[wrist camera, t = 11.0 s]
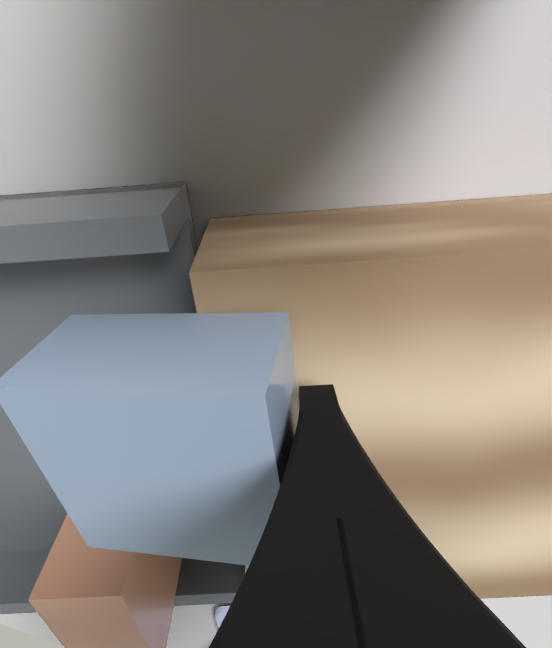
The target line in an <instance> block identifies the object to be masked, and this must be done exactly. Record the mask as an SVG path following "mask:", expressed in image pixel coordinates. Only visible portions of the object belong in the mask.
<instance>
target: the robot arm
mask: <svg viewBox="0 0 552 648" xmlns="http://www.w3.org/2000/svg"><path fill="white" fill-rule="evenodd" d="M299 402H300V408H299V416H298V422H297V427H296V432H295V436H294V440H293V444H292V448H291V452H290V455H289V459H288V463H287V466H286V470H285V473H284V476H283V479H282V482H281V485H280V488H279V491H278V494H277V496H276V499H275V502H274V505H273V508H272V511H271V513H270V516H269V519H268V521H267V524H266V526H265V529H264V531H263V534H262V536H261V539H260V541H259V544H258V546H257V548H256V551H255V553H254V555H253V558H252V560H251V562H250V565H249V567H248V569H247V571H246V573H245V575H244V577H243V580H242V582H241V584H240V586H239V588H238V590H237V592H236V595H235V597H234V599H233V601H232V603H231V605H230V606H220V607H218V608H217V609H216V611H215V620H216V623H217V626H218V631H217V633H216V635H215V637H214V639H213V641H212V643H211V645H210V646H209V648H526V647H525V646H524V645H523V644H522V643H521V642H520V641H519V640H518V639H517V638H516V637H515V635H514V634H513V633H512V632H511V631H510V630H509V629H508V628H507V627H506V626H505V625H504V624H503V623H502V622H501V621H500V620H499V619H498V617H497V616H496V615H495V614H494V613H493V612H492V611H491V610H490V609H489V608H488V607H487V606H486V605H485V604H484V603H483V602H482V601H481V600H480V598H479V597H478V596H477V595H476V594H475V593H474V592H473V591H472V590H471V589H470V587H469V586H468V585H467V584H466V583H465V582H464V581H463V579H462V578H461V577H460V576H459V575H458V574H457V573H456V571H455V570H454V569H453V568H452V567H451V566H450V564H449V563H448V562H447V561H446V560H445V559H444V558H443V556H442V555H441V554H440V553H439V551H438V550H437V549H436V548H435V547H434V545H433V544H432V543H431V542H430V540H429V539H428V538H427V537H426V536H425V534H424V533H423V532H422V531H421V529H420V528H419V527H418V526H417V524H416V523H415V522H414V520H413V519H412V518H411V516H410V515H409V514H408V513H407V511H406V510H405V509H404V507H403V506H402V505H401V503H400V502H399V500H398V499H397V498H396V496H395V495H394V493H393V492H392V491H391V489H390V488H389V487H388V485H387V484H386V482H385V481H384V479H383V478H382V476H381V475H380V474H379V472H378V471H377V469H376V468H375V466H374V464H373V463H372V461H371V460H370V458H369V457H368V455H367V453H366V452H365V450H364V449H363V447H362V446H361V444H360V442H359V441H358V439H357V437H356V436H355V434H354V432H353V431H352V429H351V427H350V425H349V423H348V422H347V420H346V418H345V416H344V414H343V412H342V410H341V408H340V406H339V403H338V399H337V396H336V393H335V389H334V386H333V384H328V385H310V386H299Z"/></svg>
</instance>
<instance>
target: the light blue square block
mask: <svg viewBox="0 0 552 648" xmlns="http://www.w3.org/2000/svg"><path fill="white" fill-rule="evenodd" d="M0 404H1V406H2V408H3V409H4V411H5V412H6V414H7V416H8V417H9V419H10V421H11V422H12V424H13V425H14V427H15V429H16V430H17V432H18V434H19V435H20V437H21V438H22V440H23V442H24V443H25V445H26V447H27V448H28V450H29V451H30V453H31V455H32V456H33V458H34V460H35V461H36V463H37V464H38V466H39V468H40V469H41V471H42V473H43V474H44V476H45V477H46V479H47V481H48V482H49V484H50V486H51V487H52V489H53V491H54V492H55V494H56V495H57V497H58V499H59V500H60V502H61V504H62V505H63V507H64V508H65V510H66V512H67V513H68V515H69V517H70V518H71V520H72V521H73V523H74V525H75V526H76V528H77V530H78V531H79V533H80V534H81V536H82V538H83V539H84V541H85V543H86V544H87V546H88V547H94V548H103V549H112V550H120V551H129V552H137V553H146V554H154V555H163V556H171V557H180V558H188V559H197V560H205V561H214V562H222V563H231V564H239V565H248V566H249V565H250V562H251V560H252V558H253V555H254V553H255V551H256V548H257V546H258V544H259V541H260V539H261V536H262V534H263V531H264V529H265V526H266V524H267V521H268V519H269V516H270V513H271V511H272V508H273V505H274V502H275V499H276V496H277V494H278V491H279V488H280V485H281V482H282V479H283V476H284V473H285V470H286V466H287V463H288V459H289V455H290V452H291V448H292V444H293V440H294V436H295V432H296V427H297V422H298V416H299V403H298V394H297V385H296V376H295V367H294V358H293V349H292V340H291V330H290V321H289V312H267V313H168V314H72V315H70V316H69V317H68V318H67V319H66V320H65V321H64V322H63V323H61V324H60V325H59V326H58V327H57V328H56V329H55V330H54V331H52V332H51V333H50V334H49V335H48V336H47V337H46V338H45V339H43V340H42V341H41V342H40V343H39V344H38V345H37V346H35V347H34V348H33V349H32V350H31V351H30V352H29V353H28V354H26V355H25V356H24V357H23V358H22V359H21V360H20V361H19V362H17V363H16V364H15V365H14V366H13V367H12V368H11V369H10V370H8V371H7V372H6V373H5V374H4V375H3V376H2V377H0Z"/></svg>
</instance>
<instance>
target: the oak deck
mask: <svg viewBox="0 0 552 648" xmlns="http://www.w3.org/2000/svg"><path fill="white" fill-rule="evenodd" d="M189 275H190V281H191V286H192V291H193V296H194V301H195V306H196V311H197V313H267V312H289V321H290V330H291V340H292V349H293V358H294V367H295V376H296V385H297V394H298V403H299V408H300V402H299V386H310V385H328V384H333V386H334V389H335V393H336V396H337V399H338V403H339V406H340V408H341V410H342V412H343V414H344V416H345V418H346V420H347V422H348V423H349V425H350V427H351V429H352V431H353V432H354V434H355V436H356V437H357V439H358V441H359V442H360V444H361V446H362V447H363V449H364V450H365V452H366V453H367V455H368V457H369V458H370V460H371V461H372V463H373V464H374V466H375V468H376V469H377V471H378V472H379V474H380V475H381V476H382V478H383V479H384V481H385V482H386V484H387V485H388V487H389V488H390V489H391V491H392V492H393V493H394V495H395V496H396V498H397V499H398V500H399V502H400V503H401V505H402V506H403V507H404V509H405V510H406V511H407V513H408V514H409V515H410V516H411V518H412V519H413V520H414V522H415V523H416V524H417V526H418V527H419V528H420V529H421V531H422V532H423V533H424V534H425V536H426V537H427V538H428V539H429V540H430V542H431V543H432V544H433V545H434V547H435V548H436V549H437V550H438V551H439V553H440V554H441V555H442V556H443V558H444V559H445V560H446V561H447V562H448V563H449V564H450V566H451V567H452V568H453V569H454V570H455V571H456V573H457V574H458V575H459V576H460V577H461V578H462V579H463V581H464V582H465V583H466V584H467V585H468V586H469V587H470V589H471V590H472V591H473V592H474V593H475V594H476V595H477V596H478V597H479V598H480V599H482V598H503V597H524V596H546V595H552V194H540V195H526V196H512V197H499V198H485V199H471V200H457V201H443V202H429V203H415V204H401V205H388V206H374V207H360V208H346V209H332V210H318V211H304V212H291V213H277V214H263V215H249V216H235V217H221V218H210V221H209V223H208V226H207V228H206V231H205V233H204V236H203V238H202V241H201V243H200V246H199V248H198V251H197V254H196V256H195V259H194V261H193V264H192V266H191V269H190V271H189ZM248 567H249V566H248V565H247V569H248Z"/></svg>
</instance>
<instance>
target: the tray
mask: <svg viewBox="0 0 552 648" xmlns="http://www.w3.org/2000/svg"><path fill="white" fill-rule="evenodd" d="M197 251H198V249H197V244H196V238H195V232H194V227H193V221H192V216H191V210H190V205H189V199H188V194H187V188H186V182H177V183H163V184H150V185H137V186H123V187H110V188H96V189H83V190H70V191H56V192H43V193H29V194H16V195H2V196H0V377H2V376H3V375H4V374H5V373H6V372H7V371H8V370H10V369H11V368H12V367H13V366H14V365H15V364H16V363H17V362H19V361H20V360H21V359H22V358H23V357H24V356H25V355H26V354H28V353H29V352H30V351H31V350H32V349H33V348H34V347H35V346H37V345H38V344H39V343H40V342H41V341H42V340H43V339H45V338H46V337H47V336H48V335H49V334H50V333H51V332H52V331H54V330H55V329H56V328H57V327H58V326H59V325H60V324H61V323H63V322H64V321H65V320H66V319H67V318H68V317H69V316H70V315H72V314H168V313H197V311H196V306H195V301H194V296H193V291H192V286H191V281H190V275H189V271H190V269H191V266H192V264H193V261H194V259H195V256H196V254H197ZM66 515H67V512H66V510H65V508H64V507H63V505H62V504H61V502H60V500H59V499H58V497H57V495H56V494H55V492H54V491H53V489H52V487H51V486H50V484H49V482H48V481H47V479H46V477H45V476H44V474H43V473H42V471H41V469H40V468H39V466H38V464H37V463H36V461H35V460H34V458H33V456H32V455H31V453H30V451H29V450H28V448H27V447H26V445H25V443H24V442H23V440H22V438H21V437H20V435H19V434H18V432H17V430H16V429H15V427H14V425H13V424H12V422H11V421H10V419H9V417H8V416H7V414H6V412H5V411H4V409H3V408H2V406H1V404H0V614H11V613H32V612H37V611H36V610H35V608H34V607H33V606H32V604H31V603H30V602H29V601H28V599H29V597H30V595H31V592H32V590H33V588H34V586H35V584H36V581H37V579H38V577H39V575H40V573H41V570H42V568H43V566H44V564H45V562H46V559H47V557H48V555H49V553H50V551H51V548H52V546H53V544H54V542H55V540H56V537H57V535H58V533H59V531H60V529H61V526H62V524H63V522H64V520H65V518H66ZM246 571H247V565H239V564H231V563H222V562H214V561H205V560H197V559H188V558H182V561H181V566H180V572H179V577H178V583H177V588H176V594H175V600H174V605H173V606H180V605H201V604H222V603H232V601H233V599H234V597H235V595H236V592H237V590H238V588H239V586H240V584H241V582H242V580H243V577H244V575H245V573H246Z"/></svg>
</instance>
